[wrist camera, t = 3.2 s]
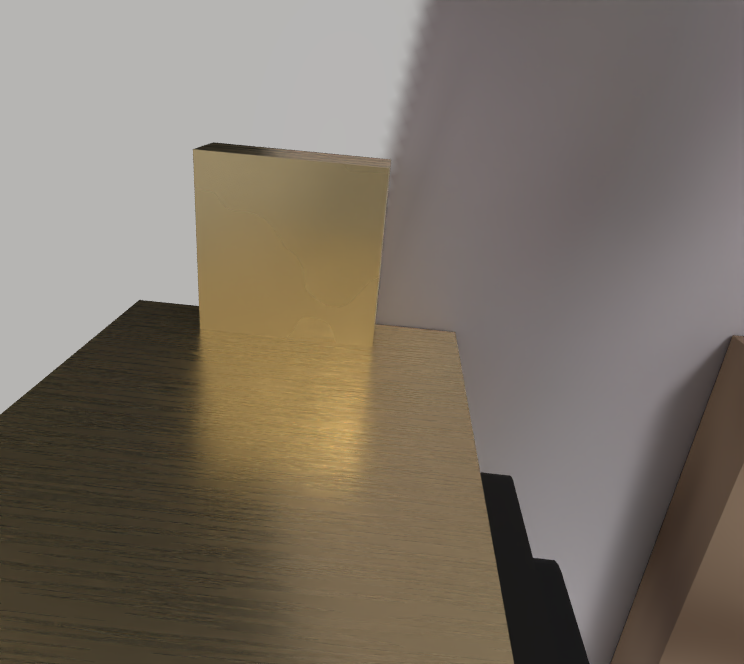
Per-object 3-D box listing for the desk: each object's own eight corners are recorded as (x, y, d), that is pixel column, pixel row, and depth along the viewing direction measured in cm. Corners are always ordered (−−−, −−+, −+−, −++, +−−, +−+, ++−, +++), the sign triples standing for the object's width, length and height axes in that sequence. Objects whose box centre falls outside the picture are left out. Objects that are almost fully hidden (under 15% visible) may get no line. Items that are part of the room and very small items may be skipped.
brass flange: (125, 134, 10) (-727, 303, 2) (480, 167, 10) (703, 454, 2) (167, 632, 15) (-76, 1186, 7) (403, 658, 14) (397, 1250, 7)
